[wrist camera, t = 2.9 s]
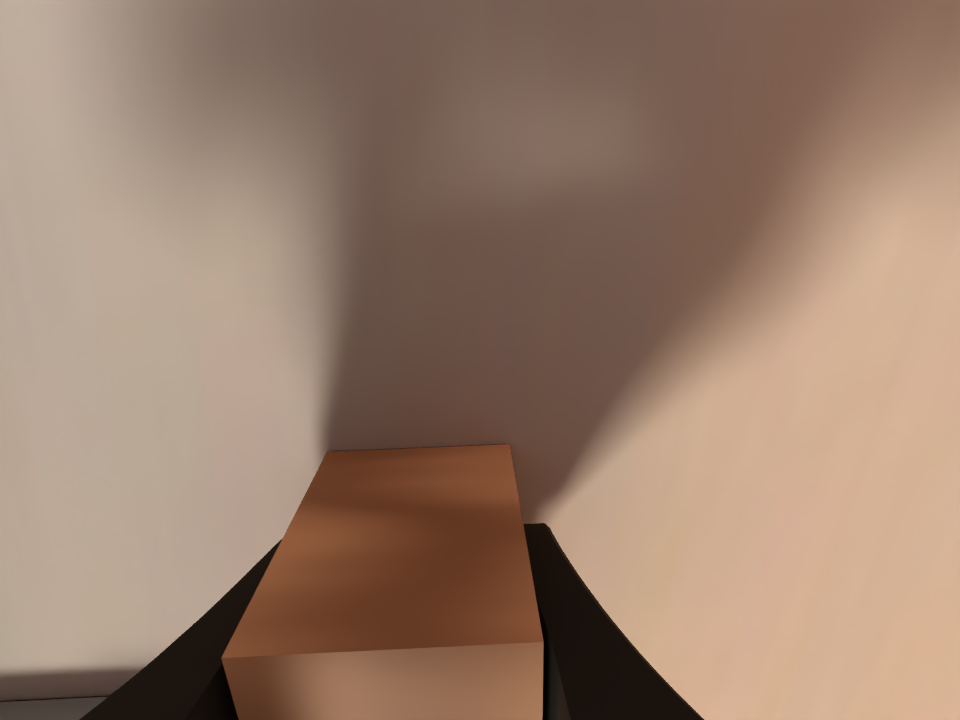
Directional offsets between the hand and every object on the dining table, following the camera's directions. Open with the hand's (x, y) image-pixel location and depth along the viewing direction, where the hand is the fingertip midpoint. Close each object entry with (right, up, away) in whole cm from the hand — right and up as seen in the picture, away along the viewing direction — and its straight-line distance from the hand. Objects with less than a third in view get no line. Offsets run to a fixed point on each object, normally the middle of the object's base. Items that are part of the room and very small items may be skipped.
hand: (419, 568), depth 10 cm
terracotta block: (0, 0, +1) cm, 1 cm away
